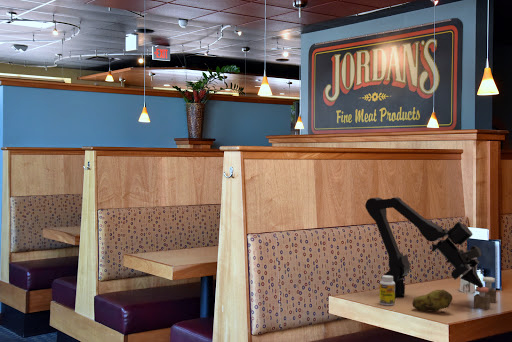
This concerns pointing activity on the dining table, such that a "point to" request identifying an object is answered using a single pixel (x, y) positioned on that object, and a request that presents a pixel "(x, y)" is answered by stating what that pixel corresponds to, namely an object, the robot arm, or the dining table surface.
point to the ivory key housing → (492, 295)
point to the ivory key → (488, 281)
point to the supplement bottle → (387, 290)
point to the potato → (433, 301)
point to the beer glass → (466, 286)
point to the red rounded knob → (482, 291)
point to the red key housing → (482, 302)
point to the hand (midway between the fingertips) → (482, 286)
